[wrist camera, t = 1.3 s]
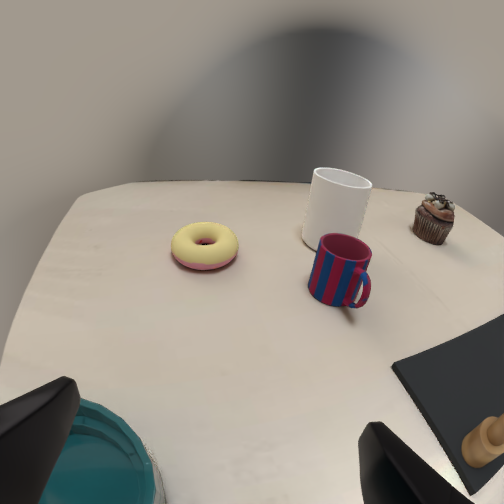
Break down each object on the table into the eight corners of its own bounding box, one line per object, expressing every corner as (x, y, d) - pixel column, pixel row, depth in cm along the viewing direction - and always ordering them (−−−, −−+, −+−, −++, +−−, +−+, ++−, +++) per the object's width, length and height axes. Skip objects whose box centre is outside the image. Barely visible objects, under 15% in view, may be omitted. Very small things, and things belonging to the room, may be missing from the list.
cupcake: (453, 246, 56) (468, 206, 51) (428, 247, 54) (444, 203, 48) (427, 226, 64) (439, 188, 59) (401, 225, 61) (414, 184, 56)
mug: (310, 257, 45) (327, 184, 39) (290, 221, 55) (300, 161, 49) (363, 257, 47) (383, 191, 41) (335, 224, 57) (349, 167, 51)
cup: (346, 275, 42) (359, 234, 38) (372, 324, 33) (392, 279, 30) (302, 274, 41) (313, 230, 37) (321, 326, 33) (338, 278, 29)
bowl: (180, 560, 11) (172, 563, 8) (24, 540, 7) (-9, 531, 5) (154, 422, 20) (145, 396, 18) (27, 417, 17) (3, 389, 15)
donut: (240, 257, 47) (187, 236, 48) (249, 230, 45) (193, 210, 46) (219, 286, 38) (156, 259, 39) (228, 254, 36) (161, 227, 37)
